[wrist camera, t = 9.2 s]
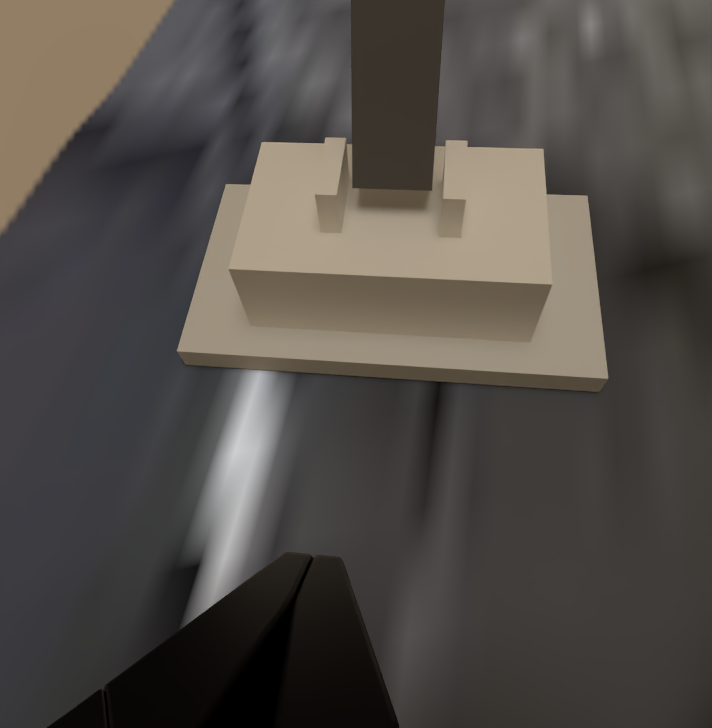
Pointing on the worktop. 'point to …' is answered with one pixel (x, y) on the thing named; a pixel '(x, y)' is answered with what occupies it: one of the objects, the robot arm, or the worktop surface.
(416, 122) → the lever
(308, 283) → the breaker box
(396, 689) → the worktop surface
